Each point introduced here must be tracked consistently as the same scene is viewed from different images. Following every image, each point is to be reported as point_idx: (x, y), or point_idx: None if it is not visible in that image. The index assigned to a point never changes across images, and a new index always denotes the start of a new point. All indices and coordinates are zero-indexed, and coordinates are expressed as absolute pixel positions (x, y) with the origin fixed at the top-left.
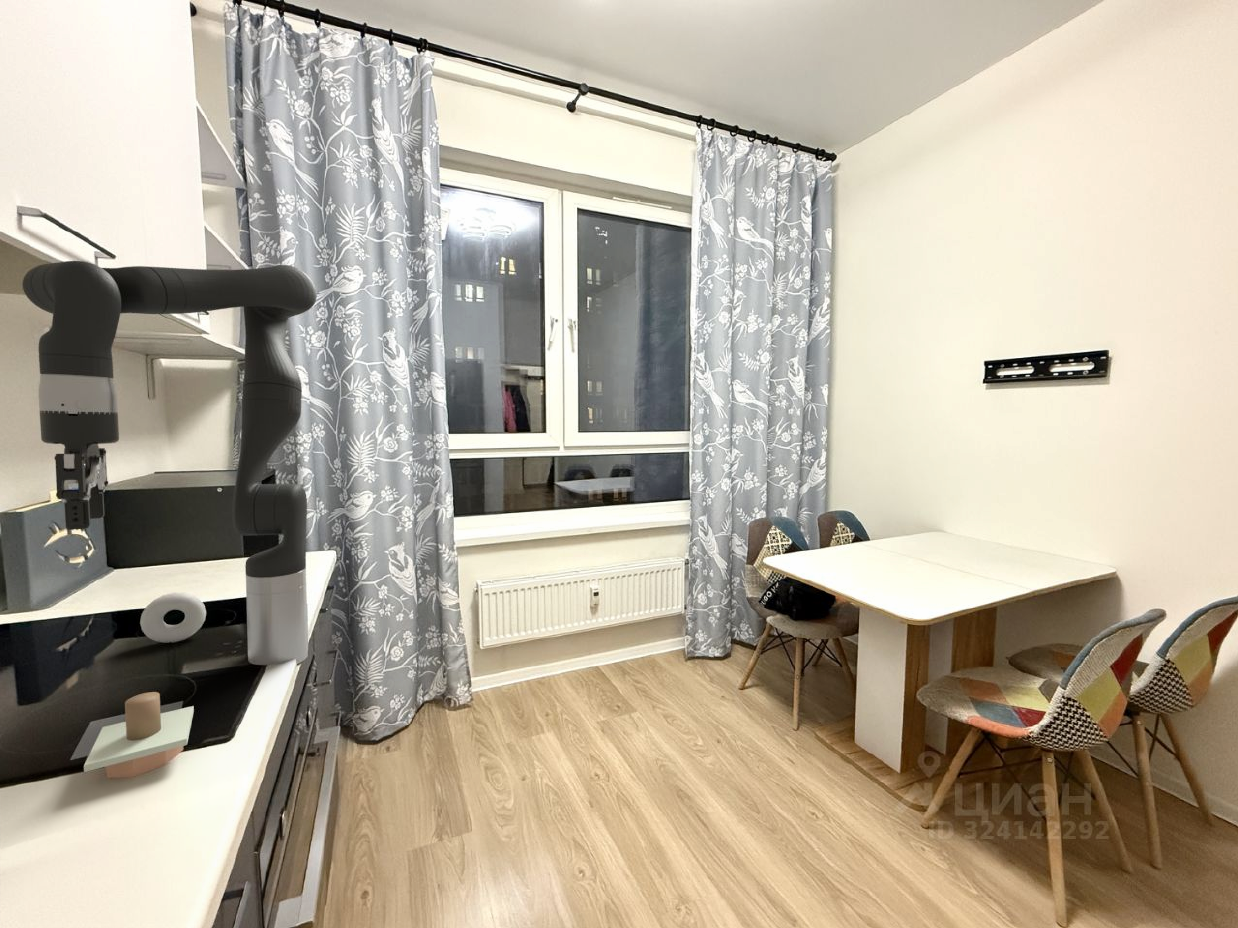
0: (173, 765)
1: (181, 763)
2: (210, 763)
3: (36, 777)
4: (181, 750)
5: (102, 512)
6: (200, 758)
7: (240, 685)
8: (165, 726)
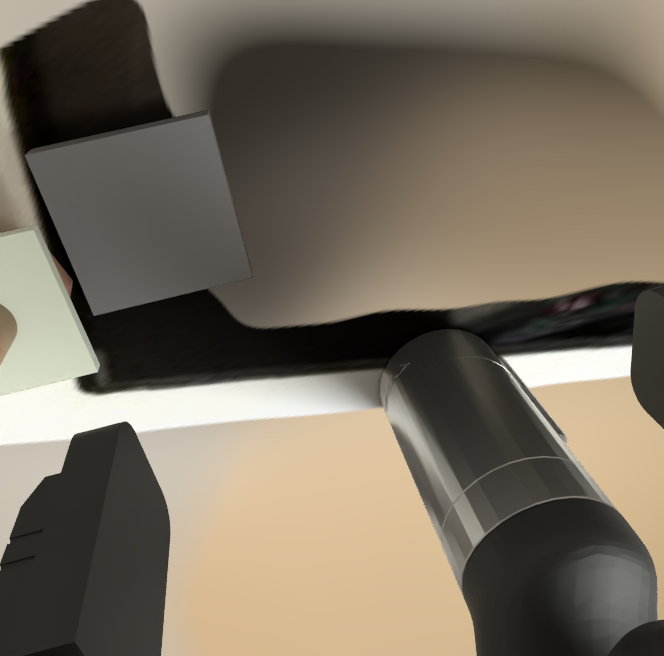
0: None
1: None
2: None
3: (22, 88)
4: None
5: (656, 421)
6: None
7: (336, 340)
8: (7, 353)
